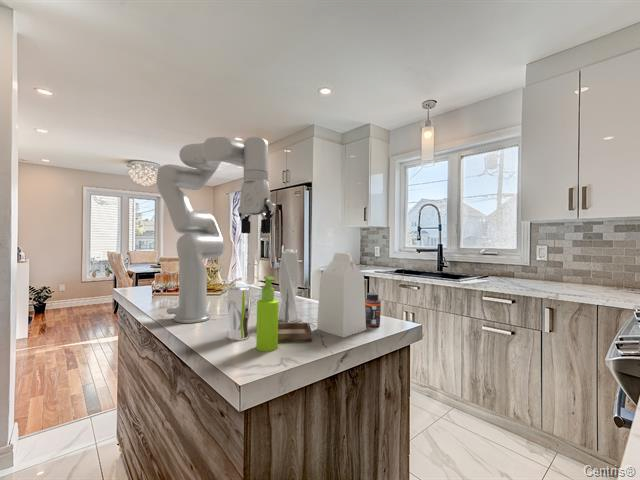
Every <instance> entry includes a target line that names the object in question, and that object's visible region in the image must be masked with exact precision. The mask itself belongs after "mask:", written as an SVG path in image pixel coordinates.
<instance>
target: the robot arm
mask: <svg viewBox="0 0 640 480" xmlns="http://www.w3.org/2000/svg"><path fill="white" fill-rule="evenodd" d="M178 154H179V159H180V161H181V162H182V164H184V165H185V166H183V165H178V164H168V163H167V164H164V165H162V166H160V167H159V168H158V170H157V171H156V187H157V189H158V193H159V194H160V196H161V198H162V199H163V202H164V203H165V205H166V208H167V211H168V214H169V216H170V220H171V222H172V225H173V228H174V229H175V231H176V232H177V233H178V234H181V236H180V237H179V238H178V239H177V241H176V252H177V253H176V254H177V257H178V268H179V269H178V270H179V271H178V272H179V273H178V306H177V307H167V309H166V313H167V314H168V315H175V316H173V321H174V322H177V323H183V324H191V323H201V322H204V321H209V319H211V314H210V313H209V312H207V295H208V294H207V291H208V289H207V288H208V286H207V285H208V283H207V281H208V271H207V268H206V265H205V264H204V262H203V260H206V259H217V258H220V257H221V256H223V254H224V252H225V242H224V238H223V236H222V233H221V230H220V228H219V225H218V223H217V221H216V218H215V216H214V215H213V214H212V213H210V212H208V211H206V210H197V209H194V208H193V206H192V204H191V200H190V199H189V197H188V196H187V194H186V193H184V191H183V190H181V189H184V190H185V189H186V190H190V191H199V190H202V189H203V188H204V187H205V186H206V184H207V183H209V182H208V181H210V180H211V178H212V176H214V174H215V173H216V172H217V170H218V168H219V166H220V165H221V163H226V164H231V165H235V166H237V167H242V168H243V183H242V184H241V187H240V188H241V190H240V198H239V206H238V207H237V212H238V217H239V221H240V222H241V223H240V225H241V226H240V227H241V229H240V232H241V234H251V221H250V219H251V218H252V216H258V215H259V216H261V219H260V233H261V234H270V233H271V220H273V216H274V215H275V210H276V207H277V205H276V203H274V202H272V201H271V189H270V183H269V142H268V141H267V140H266V139H265V138H263V137H260V136H249V137H247V138H245V139H244V142H242V141H239V140H236V139H232V138H230V137H226V136H215V137H214V136H213V137H208V138H207V139H205V140H204V141H203V142H201V143H189V144H186V145H183V146H182V147H181V149H180V150H179V153H178Z"/></svg>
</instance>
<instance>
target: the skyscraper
mask: <svg viewBox="0 0 640 480" xmlns="http://www.w3.org/2000/svg"><path fill="white" fill-rule="evenodd" d="M299 263H300V262H299V257H298V250H297V249H296V250H295V251H294V249H285V251H284V245H282V246H281V257H280V262H279V268H278V270H279V271H278V286H279V293H280V299H281V303H280V308H279V311H278V323H302V320H300V319H299V316H298V310H297V305H296V298H297V293H298V289H299V282H300V265H299Z"/></svg>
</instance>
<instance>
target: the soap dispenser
mask: <svg viewBox="0 0 640 480" xmlns="http://www.w3.org/2000/svg"><path fill="white" fill-rule="evenodd" d="M263 279H265V281H264V287H262V289H261V299H258V300H257V301H256V337H255V339H256V342H255V343H256V344H255V348H256V350H257V351H259V352H272V351H276V350H277V349H278V348H279V347H278V346H279V345H278V343H279V342H278V317H279V302H280V301H279V299H275V288H274V287H273V286H272V282H275V281H276V278H275V277H274V276H272V275H265V276H263Z"/></svg>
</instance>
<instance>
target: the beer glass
mask: <svg viewBox="0 0 640 480" xmlns="http://www.w3.org/2000/svg"><path fill="white" fill-rule="evenodd" d="M251 309H252V293H251V287H247V286H236V287H235V286H234V287H230V288H228V292H227V313H228V319H229V333H228V340H230V341H234V342H235V341H236V342H238V341H245V340H247V339H248V338H249V337H250V333H249V319H250V314H251Z"/></svg>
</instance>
